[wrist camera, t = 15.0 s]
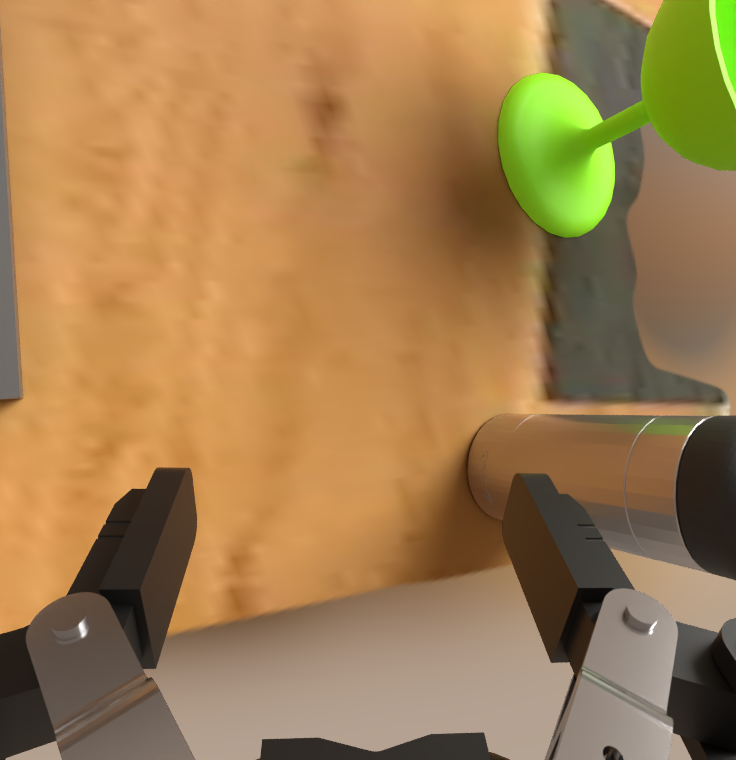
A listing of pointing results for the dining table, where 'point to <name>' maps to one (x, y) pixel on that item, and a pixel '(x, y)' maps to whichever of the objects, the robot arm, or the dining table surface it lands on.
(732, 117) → the wineglass
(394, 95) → the dining table surface
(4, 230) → the gray slotted tray
